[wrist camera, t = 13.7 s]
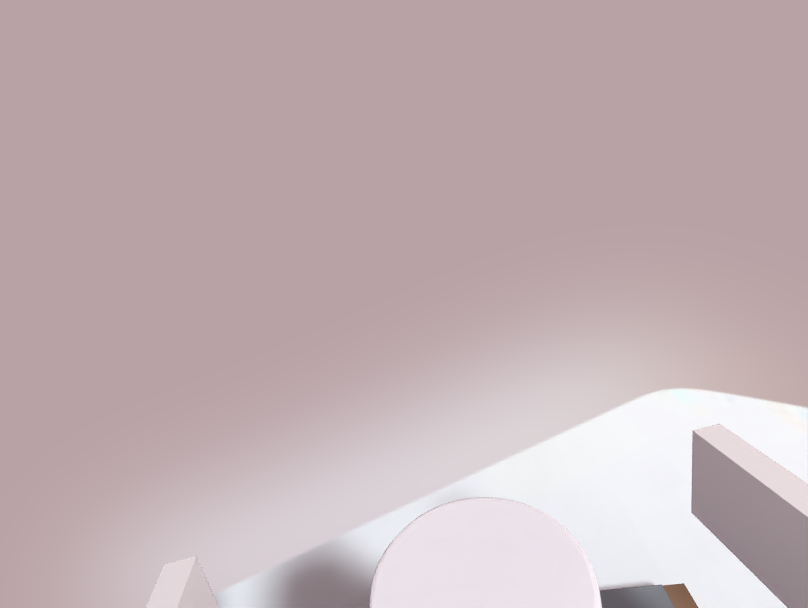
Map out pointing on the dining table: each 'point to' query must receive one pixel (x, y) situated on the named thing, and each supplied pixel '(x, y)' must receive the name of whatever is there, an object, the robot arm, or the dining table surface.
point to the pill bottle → (484, 561)
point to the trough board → (648, 597)
